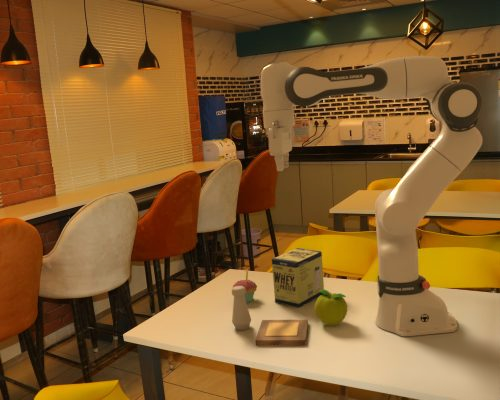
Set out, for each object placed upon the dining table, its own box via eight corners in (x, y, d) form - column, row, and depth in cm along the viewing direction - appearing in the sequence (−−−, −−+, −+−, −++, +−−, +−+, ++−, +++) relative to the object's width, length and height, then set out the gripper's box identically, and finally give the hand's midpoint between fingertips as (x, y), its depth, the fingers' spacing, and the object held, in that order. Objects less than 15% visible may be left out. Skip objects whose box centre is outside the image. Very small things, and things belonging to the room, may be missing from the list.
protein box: (274, 302, 175) (270, 258, 172) (300, 288, 187) (297, 247, 184) (299, 308, 168) (295, 262, 166) (325, 293, 180) (322, 250, 177)
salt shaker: (241, 322, 161) (237, 282, 159) (255, 325, 157) (251, 285, 155) (229, 329, 157) (225, 288, 154) (243, 333, 153) (239, 291, 151)
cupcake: (262, 297, 181) (259, 264, 179) (249, 306, 174) (246, 272, 172) (242, 294, 186) (239, 262, 184) (228, 302, 179) (225, 269, 177)
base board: (308, 324, 155) (307, 318, 155) (305, 345, 142) (305, 339, 141) (262, 324, 158) (262, 319, 158) (255, 345, 144) (255, 339, 144)
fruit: (328, 315, 161) (326, 284, 159) (353, 322, 154) (351, 290, 152) (309, 325, 154) (307, 293, 153) (335, 333, 148) (333, 300, 146)
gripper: (284, 120, 135) (288, 172, 137) (294, 119, 155) (298, 165, 157) (261, 122, 137) (265, 173, 139) (274, 121, 157) (277, 166, 159)
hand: (283, 169), depth 148 cm, fingers open, 8 cm apart
